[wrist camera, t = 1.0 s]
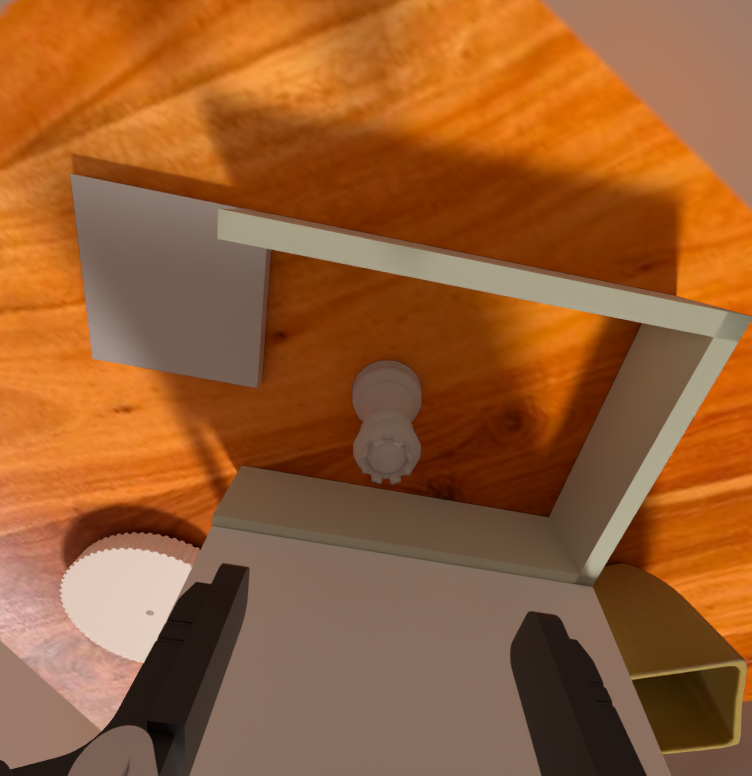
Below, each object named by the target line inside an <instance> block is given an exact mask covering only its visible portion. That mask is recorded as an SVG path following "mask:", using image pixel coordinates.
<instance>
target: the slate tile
mask: <svg viewBox="0 0 752 776" xmlns="http://www.w3.org/2000/svg"><path fill="white" fill-rule="evenodd" d="M70 178H71V186H72V194H73V202H74V211H75V219H76V227H77V235H78V243H79V252H80V260H81V268H82V276H83V284H84V293H85V301H86V309H87V317H88V325H89V334H90V342H91V350H92V358H93V359H97V360H103V361H108V362H114V363H120V364H125V365H131V366H136V367H142V368H147V369H153V370H159V371H164V372H170V373H175V374H181V375H186V376H192V377H197V378H203V379H209V380H214V381H220V382H225V383H231V384H236V385H242V386H248V387H253V388H258V386H259V385H260V384H261V383H262V375H263V361H264V347H265V333H266V319H267V305H268V291H269V277H270V263H271V249H266V248H261V247H256V246H251V245H246V244H241V243H236V242H231V241H226V240H221V239H217V236H218V209H236V210H251V209H246V208H241V207H236V206H231V205H226V204H221V203H216V202H211V201H206V200H201V199H196V198H192V197H187V196H182V195H177V194H172V193H167V192H162V191H157V190H152V189H147V188H142V187H137V186H132V185H127V184H123V183H118V182H113V181H108V180H103V179H98V178H93V177H88V176H83V175H75V174H70ZM251 211H256V210H251ZM256 212H261V211H256ZM261 213H265V212H261ZM266 214H270V213H266Z"/></svg>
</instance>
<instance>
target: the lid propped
mask: <svg viewBox="0 0 752 776" xmlns="http://www.w3.org/2000/svg"><path fill="white" fill-rule="evenodd" d="M222 563H226V564H233V565H240V566H246V567H249V568H250V573H249V587H248V600H247V608H246V613H245V617H244V621H243V624H242V627H241V630H240V633H239V636H238V639H237V641H236V644H235V647H234V650H233V653H232V656H231V659H230V661H229V664H228V667H227V670H226V673H225V676H224V679H223V681H222V684H221V687H220V690H219V693H218V696H217V698H216V701H215V704H214V707H213V710H212V713H211V716H210V718H209V721H208V724H207V727H206V730H205V733H204V736H203V738H202V741H201V744H200V747H199V750H198V753H197V755H196V758H195V761H194V764H193V767H192V770H191V773H190V775H189V776H541V773H540V769H539V766H538V762H537V758H536V755H535V751H534V748H533V744H532V740H531V737H530V733H529V730H528V726H527V722H526V719H525V715H524V712H523V708H522V704H521V701H520V697H519V694H518V690H517V686H516V683H515V679H514V676H513V672H512V668H511V663H510V648H511V643H512V641H513V639H514V637H515V635H516V633H517V631H518V630H519V628H520V626H521V624H522V622H523V620H524V618H525V616H526V614H527V613H528V612H529V611H534V612H541V613H547V614H554V615H557V616H558V617H559V618H560V619H561V620H562V622H563V624H564V627H565V629H566V631H567V633H568V636H569V638H570V639H576V640H578V642H579V643H580V644H581V646H582V647H583V648H584V649H585V651H586V652H587V653H588V654H589V656H590V657H591V658H592V660H593V661H594V663H595V665H596V668H597V670H598V672H599V674H600V676H601V678H602V680H603V683H604V684H603V685H604V687H605V688H606V689H607V691H608V693H609V695H610V698H611V700H612V705H613V707H615V708H616V710H617V713H618V715H619V717H620V719H621V721H622V723H623V725H624V728H625V730H626V732H627V734H628V736H629V738H630V740H631V743H632V745H633V747H634V749H635V751H636V753H637V755H638V758H639V760H640V762H641V764H642V766H643V768H644V770H645V773H646V775H647V776H671V774H670V772H669V769H668V767H667V765H666V762H665V760H664V757H663V755H662V753H661V750H660V748H659V745H658V743H657V740H656V738H655V736H654V733H653V731H652V728H651V726H650V724H649V721H648V719H647V716H646V714H645V712H644V709H643V707H642V704H641V702H640V699H639V697H638V695H637V692H636V690H635V687H634V685H633V683H632V680H631V678H630V675H629V673H628V671H627V668H626V666H625V663H624V661H623V659H622V656H621V654H620V651H619V649H618V646H617V644H616V642H615V639H614V637H613V634H612V632H611V630H610V627H609V625H608V622H607V620H606V618H605V615H604V613H603V610H602V608H601V605H600V603H599V601H598V598H597V596H596V593H595V591H594V589H593V587H589V586H583V585H576V584H570V583H564V582H558V581H551V580H545V579H539V578H533V577H527V576H520V575H514V574H508V573H502V572H495V571H489V570H483V569H477V568H471V567H464V566H458V565H452V564H446V563H439V562H433V561H427V560H421V559H415V558H408V557H402V556H396V555H390V554H383V553H377V552H371V551H365V550H358V549H352V548H346V547H340V546H334V545H327V544H321V543H315V542H309V541H302V540H296V539H290V538H284V537H278V536H271V535H265V534H259V533H253V532H246V531H240V530H234V529H228V528H222V527H215V526H212V527H211V529H210V531H209V534H208V536H207V538H206V540H205V542H204V544H203V546H202V548H201V550H200V552H199V554H198V556H197V558H196V560H195V562H194V565H193V567H192V569H191V571H190V573H189V575H188V577H187V579H186V581H185V583H184V585H183V587H182V589H181V591H180V594H179V596H178V598H177V600H178V599H179V597H181V596H182V595H183V594H184V593H185V592H186V591H187V590H188V589H189V588H190V587H191V586H192V585H193V584H194V583H195V582H202V583H208V584H211V583H212V581H213V579H214V577H215V575H216V573H217V571H218V569H219V567H220V565H221V564H222ZM177 600H176V602H177ZM176 602H175V604H176ZM175 604H174V606H175ZM174 606H173V608H174ZM173 608H172V610H173ZM172 610H171V612H172ZM171 612H170V613H171ZM169 615H170V614H169ZM168 617H169V616H168ZM167 619H168V618H167ZM166 622H167V620H166Z"/></svg>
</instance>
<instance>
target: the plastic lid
mask: <svg viewBox="0 0 752 776" xmlns="http://www.w3.org/2000/svg"><path fill="white" fill-rule="evenodd" d="M199 552H200V548H198V547H196V548H195V547H193V546H192V544H186V543H185V541H182V540H181V541H178V540H177V539H176V538H173V539H171V538H169V536H164V537H163V536H161V535H160V534H156V535H153V534H152V533H148V534H145V533H144V532H140V534H137V533H136V532H132V534H129V533H124V535H122V534H117V535H116V536H114V535H111V536H110V537H109V538H107V537H105V538H103V540H98V541H97V542H96V543H95V542H94V543H93V544H92V545H91V546H89V547H88V548H87V549H86V550H84V551H83V552H82V554H81V555H80V556H79V557H78V558H77V559H76V560H75V561H74V562H73V563H72V565H71V566H70V567H69V568H68V569H67V570H66V573H65V574H64V575H63V576H64V577H63V578H62V580H61V581H62V583H61V584H60V586H61V588H60V592H62V593H61V594H60V597H62V599H61V602H63V603H64V604H63V605H62V606H63V607H64V608H66V609H65V612H66V613H68V615H67V616H68V617H69V618H71V619H72V620H71V622H72V623H75V624H76V625H75V626H76V628H79V629H80V630H79V631H80V632H83V633H84V634H85V636H86V637H89V638H90V640H91V641H95V642H96V644H97V645H101V646H102V648H104V649H108V651H109V652H114V653H115V654H116V655H121V656H122V657H123V658H129V660H135V661H136V662H143V663H144V661H145V660H146V658H147V656H148V654H149V652H150V650H151V648H152V647H153V645H154V643H155V641H157V639H158V636H159V634H160V632H161V630H162V628H163V626H164V624H165V623H166V620H167V618H168V616H169V614H170V612H171V610H172V608H173V606H174V604H175V602H176V600H177V598H178V596H179V594H180V591H181V589H182V587H183V585H184V583H185V581H186V579H187V577H188V575H189V573H190V571H191V569H192V567H193V565H194V562H195V560H196V558H197V556H198V554H199Z"/></svg>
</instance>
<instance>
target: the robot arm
mask: <svg viewBox="0 0 752 776" xmlns="http://www.w3.org/2000/svg"><path fill="white" fill-rule="evenodd" d="M249 573H250V568H249V567H246V566H240V565H233V564H226V563H222V564H221V565H220V567H219V569H218V571H217V573H216V575H215V577H214V579H213V581H212V583H211V584H208V583H202V582H195V583H194V584H193V585H192V586H191V587H190V588H189V589H188V590H187V591H186V592H185V593H184V594H183V595H182V596H181V597H179V599H178V600H177V602H176V604H175V606H174V608H173V610H172V612H171V613H170V615H169V617H168V619H167V622H166V623H165V624H164V626H163V628H162V630H161V632H160V634H159V636H158V639H157V641H155V643H154V645H153V647H152V648H151V650H150V652H149V654H148V656H147V658H146V660H145V661H144V663H143V665H142V667H141V669H140V671H139V672H138V674H137V676H136V678H135V680H134V682H133V683H132V685H131V687H130V689H129V691H128V693H127V695H126V696H125V698H124V700H123V702H122V704H121V706H120V707H119V709H118V711H117V713H116V714H115V716H114V717H113V719H112V720H111V721H110V723H109V724H108V725H107V726H106V727H105V728H104V729H103V731H102V732H101V733H99V734H98V735H97V736H96V737H95V738H94V739H93V740H91V741H90V742H89V743H87V744H86V745H84V746H82V747H81V748H79V749H77V750H76V751H74V752H71V753H69V754H67V755H63V756H60V757H57V758H53V759H49V760H46V761H42V762H38V763H35V764H30V765H27V766H22V767H19V768H15V769H11V770H10V769H9V767H8V765H7V764H6V763H5V762H3V761H1V760H0V776H189V775H190V773H191V770H192V767H193V764H194V761H195V758H196V755H197V753H198V750H199V747H200V744H201V741H202V738H203V736H204V733H205V730H206V727H207V724H208V721H209V718H210V716H211V713H212V710H213V707H214V704H215V701H216V698H217V696H218V693H219V690H220V687H221V684H222V681H223V679H224V676H225V673H226V670H227V667H228V664H229V661H230V659H231V656H232V653H233V650H234V647H235V644H236V641H237V639H238V636H239V633H240V630H241V627H242V624H243V621H244V617H245V613H246V608H247V600H248V587H249ZM510 663H511V668H512V672H513V676H514V679H515V683H516V686H517V690H518V694H519V697H520V701H521V704H522V708H523V712H524V715H525V719H526V722H527V726H528V730H529V733H530V737H531V740H532V744H533V748H534V751H535V755H536V758H537V762H538V766H539V769H540V773H541V776H647V775H646V773H645V770H644V768H643V766H642V764H641V762H640V760H639V758H638V755H637V753H636V751H635V749H634V747H633V745H632V743H631V740H630V738H629V736H628V734H627V732H626V730H625V728H624V725H623V723H622V721H621V719H620V717H619V715H618V713H617V710H616V708H615V707H613V705H612V700H611V698H610V695H609V693H608V691H607V689H606V688H605V687H604V685H603V684H604V683H603V680H602V678H601V676H600V674H599V672H598V670H597V668H596V665H595V663H594V661H593V660H592V658H591V657H590V656H589V654H588V653H587V652H586V651H585V649H584V648H583V647H582V646H581V644H580V643H579V642H578V640H576V639H570V638H569V636H568V633H567V631H566V629H565V627H564V624H563V622H562V620H561V619H560V618H559V617H558V616H557V615H554V614H547V613H541V612H534V611H529V612H528V613H527V614H526V616H525V618H524V620H523V622H522V624H521V626H520V628H519V630H518V631H517V633H516V635H515V637H514V639H513V641H512V643H511V648H510Z"/></svg>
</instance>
